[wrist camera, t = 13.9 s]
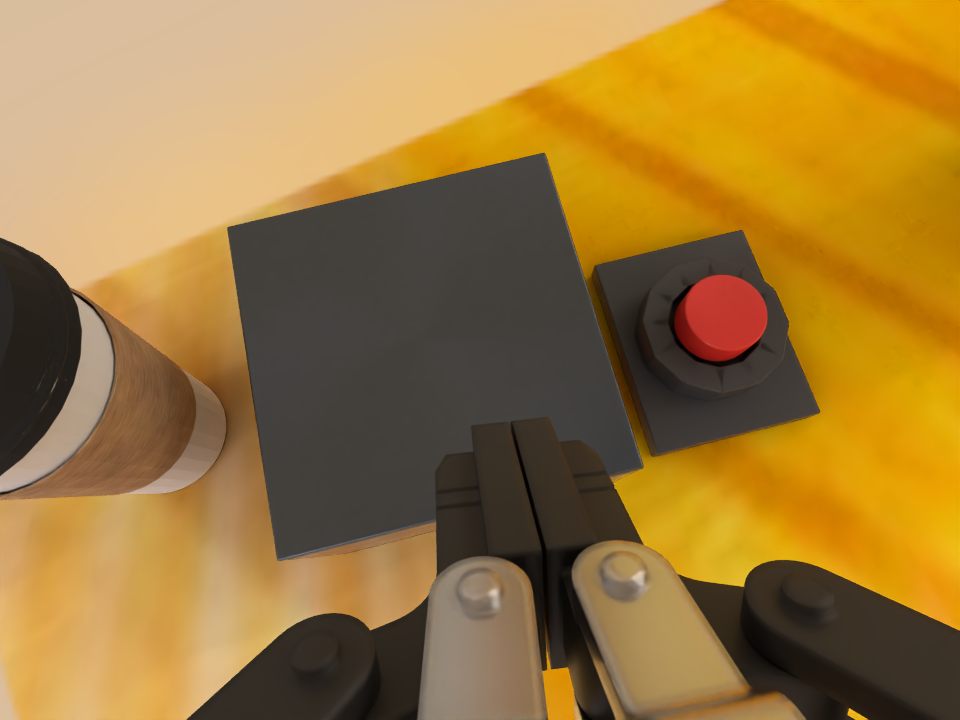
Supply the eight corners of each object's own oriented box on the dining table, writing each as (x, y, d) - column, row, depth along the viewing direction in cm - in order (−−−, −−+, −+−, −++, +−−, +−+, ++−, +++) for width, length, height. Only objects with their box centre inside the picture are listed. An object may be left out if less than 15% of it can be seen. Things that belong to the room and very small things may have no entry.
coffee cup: (82, 377, 30) (-294, 237, 16) (240, 337, 31) (10, 163, 16) (91, 540, 28) (-341, 544, 14) (263, 494, 28) (16, 451, 14)
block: (734, 239, 31) (757, 210, 28) (809, 417, 28) (843, 404, 26) (590, 274, 31) (599, 248, 28) (651, 457, 28) (668, 448, 25)
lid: (235, 235, 23) (226, 226, 22) (543, 163, 23) (545, 151, 23) (285, 559, 20) (276, 562, 19) (639, 469, 20) (644, 467, 20)
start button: (735, 281, 28) (750, 265, 26) (763, 351, 27) (781, 339, 25) (663, 299, 28) (673, 284, 26) (689, 370, 27) (701, 359, 25)
